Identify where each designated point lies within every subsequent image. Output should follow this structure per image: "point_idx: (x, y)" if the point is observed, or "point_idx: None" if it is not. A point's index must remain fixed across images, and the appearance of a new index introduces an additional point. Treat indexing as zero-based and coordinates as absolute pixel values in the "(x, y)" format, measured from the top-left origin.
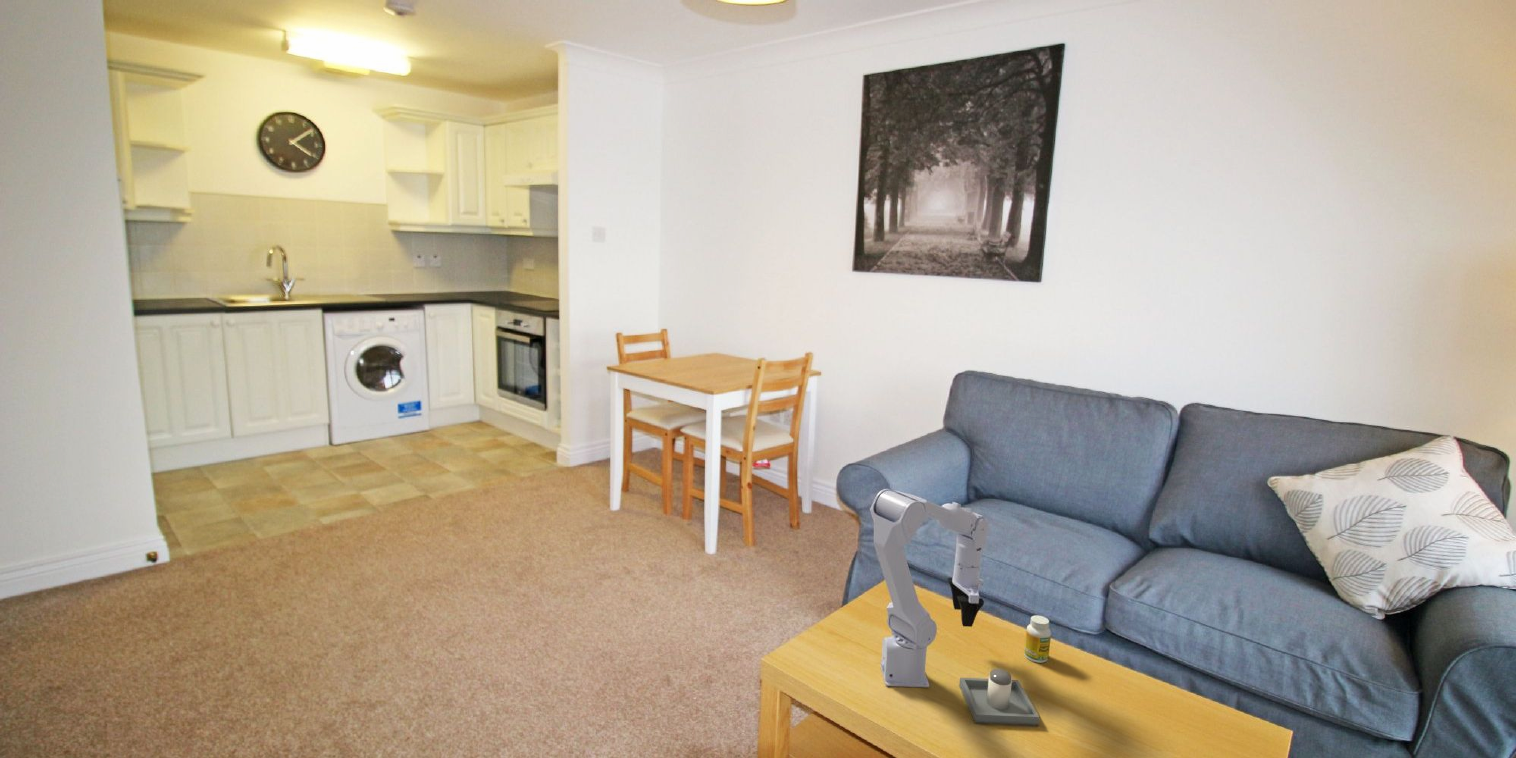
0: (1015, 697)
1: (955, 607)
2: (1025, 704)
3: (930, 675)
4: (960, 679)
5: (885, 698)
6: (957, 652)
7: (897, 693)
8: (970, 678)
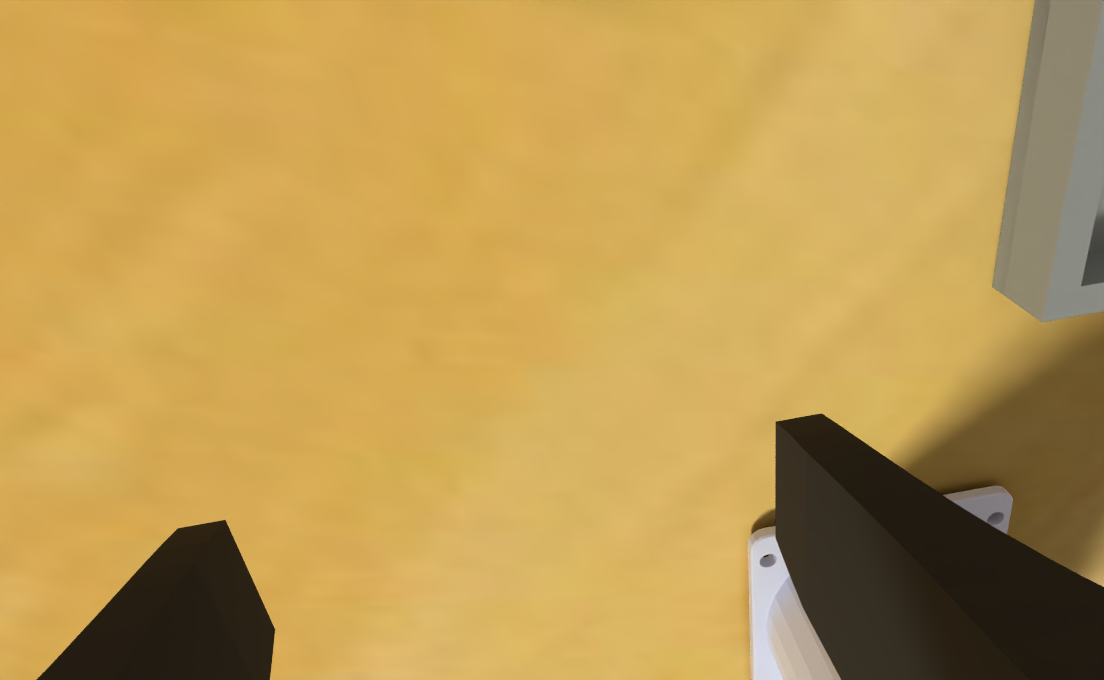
0: None
1: (261, 653)
2: None
3: None
4: (1058, 316)
5: None
6: (457, 267)
7: None
8: (1064, 233)
